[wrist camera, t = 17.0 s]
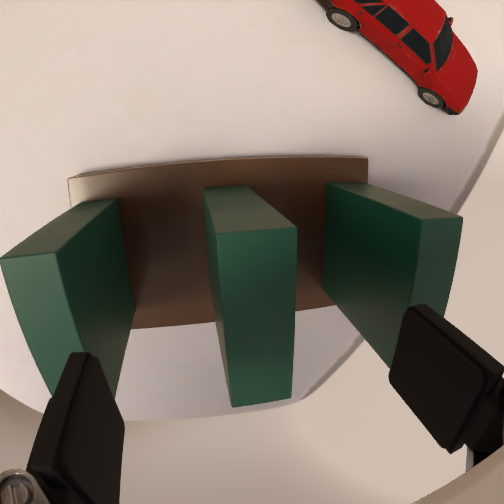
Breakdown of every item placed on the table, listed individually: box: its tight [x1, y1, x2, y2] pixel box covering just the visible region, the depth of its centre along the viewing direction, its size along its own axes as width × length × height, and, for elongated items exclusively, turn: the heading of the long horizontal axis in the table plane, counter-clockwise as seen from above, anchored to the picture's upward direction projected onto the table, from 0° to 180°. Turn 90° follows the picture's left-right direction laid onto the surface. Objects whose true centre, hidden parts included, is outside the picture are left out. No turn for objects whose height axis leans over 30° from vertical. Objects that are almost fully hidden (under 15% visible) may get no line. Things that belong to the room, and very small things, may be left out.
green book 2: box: [203, 185, 297, 407], centre depth 15 cm, size 2×7×9 cm, turn 2°
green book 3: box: [322, 182, 463, 368], centre depth 16 cm, size 2×7×9 cm, turn 2°
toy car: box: [317, 0, 478, 115], centre depth 15 cm, size 6×14×5 cm, turn 60°
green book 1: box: [0, 198, 136, 400], centre depth 13 cm, size 2×7×9 cm, turn 2°
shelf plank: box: [68, 156, 368, 329], centre depth 19 cm, size 10×18×2 cm, turn 92°
